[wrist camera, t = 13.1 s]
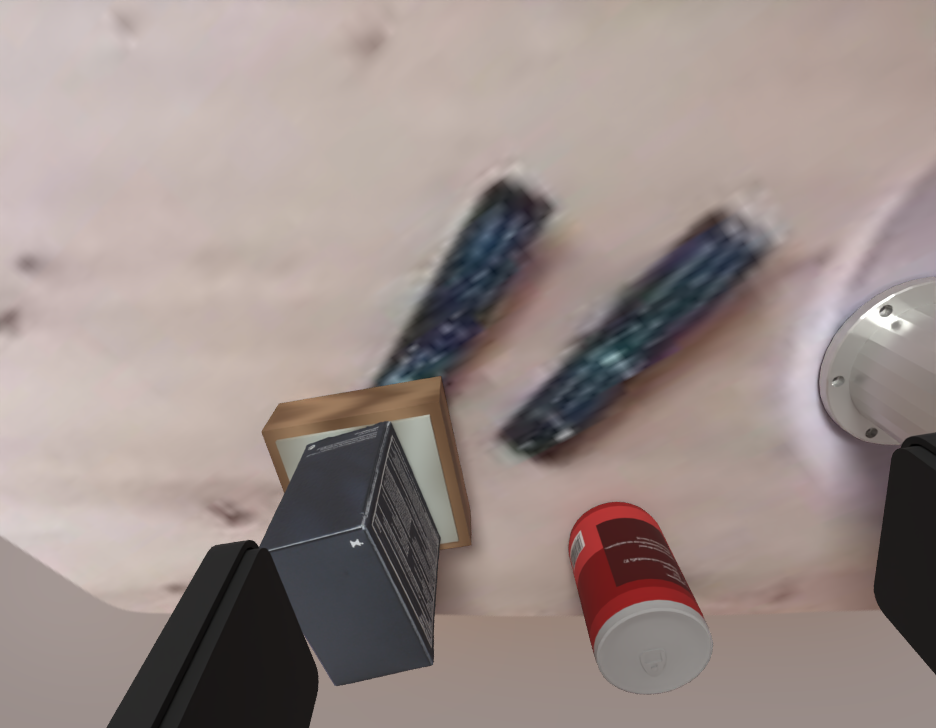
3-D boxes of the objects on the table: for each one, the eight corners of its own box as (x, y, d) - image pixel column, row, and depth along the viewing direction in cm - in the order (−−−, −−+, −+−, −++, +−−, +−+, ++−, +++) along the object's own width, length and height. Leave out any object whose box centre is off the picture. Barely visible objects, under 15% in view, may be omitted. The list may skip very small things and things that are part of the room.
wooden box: (440, 376, 41) (439, 403, 37) (470, 510, 45) (471, 547, 41) (278, 403, 41) (259, 433, 37) (324, 533, 46) (312, 572, 42)
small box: (299, 443, 38) (244, 555, 28) (391, 416, 37) (367, 521, 27) (359, 561, 42) (330, 693, 32) (443, 538, 41) (439, 667, 31)
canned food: (588, 587, 49) (622, 710, 39) (550, 521, 46) (575, 635, 36) (673, 554, 48) (730, 672, 38) (639, 484, 45) (691, 591, 35)
